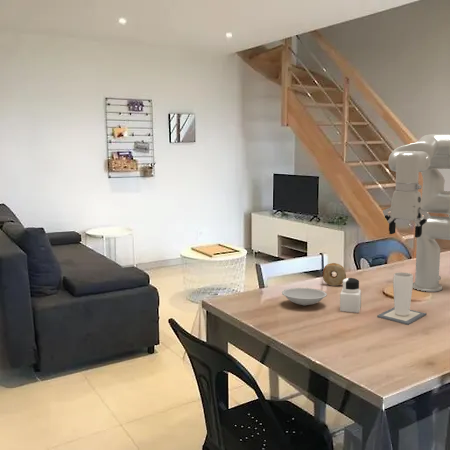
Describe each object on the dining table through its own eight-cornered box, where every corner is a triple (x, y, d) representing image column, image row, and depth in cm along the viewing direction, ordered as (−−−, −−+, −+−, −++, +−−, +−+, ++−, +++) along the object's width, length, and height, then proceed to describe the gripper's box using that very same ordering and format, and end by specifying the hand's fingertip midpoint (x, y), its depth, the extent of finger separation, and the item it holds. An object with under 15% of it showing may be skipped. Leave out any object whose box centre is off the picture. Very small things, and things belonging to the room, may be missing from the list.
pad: (395, 307, 198) (395, 306, 198) (426, 314, 190) (426, 313, 190) (377, 317, 189) (377, 315, 189) (408, 324, 180) (408, 323, 180)
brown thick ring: (321, 285, 230) (321, 263, 229) (323, 283, 234) (323, 261, 232) (344, 287, 227) (345, 265, 225) (346, 285, 230) (346, 263, 228)
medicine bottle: (360, 307, 200) (361, 277, 198) (359, 313, 194) (359, 282, 192) (341, 305, 203) (342, 276, 201) (339, 311, 196) (340, 280, 194)
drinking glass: (412, 317, 186) (414, 277, 183) (393, 316, 187) (394, 276, 185) (410, 311, 192) (411, 272, 190) (391, 310, 193) (392, 271, 191)
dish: (328, 301, 208) (329, 289, 207) (324, 313, 194) (324, 300, 194) (286, 298, 213) (286, 286, 213) (278, 309, 200) (278, 296, 199)
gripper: (435, 188, 178) (433, 236, 181) (389, 185, 190) (387, 231, 193) (425, 190, 173) (423, 239, 176) (378, 187, 185) (377, 234, 188)
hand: (404, 235), depth 184 cm, fingers open, 9 cm apart
